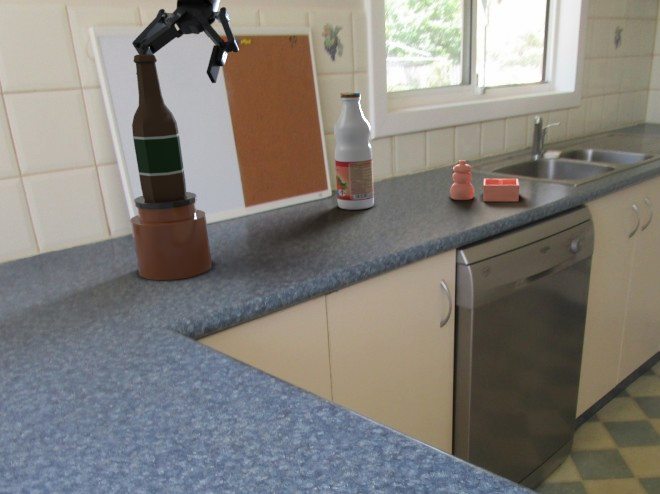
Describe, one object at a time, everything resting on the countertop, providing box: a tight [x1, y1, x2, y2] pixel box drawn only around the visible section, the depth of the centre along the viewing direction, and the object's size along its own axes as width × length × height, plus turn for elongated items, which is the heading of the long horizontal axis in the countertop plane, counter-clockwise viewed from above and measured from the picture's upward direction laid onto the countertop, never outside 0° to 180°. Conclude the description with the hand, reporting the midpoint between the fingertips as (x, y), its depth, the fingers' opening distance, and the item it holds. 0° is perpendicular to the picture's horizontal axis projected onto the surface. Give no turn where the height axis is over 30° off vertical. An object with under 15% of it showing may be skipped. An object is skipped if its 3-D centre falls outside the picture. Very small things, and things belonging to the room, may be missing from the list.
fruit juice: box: [333, 91, 375, 211], centre depth 166 cm, size 9×9×28 cm
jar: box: [129, 191, 213, 281], centre depth 121 cm, size 13×13×14 cm
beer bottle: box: [131, 54, 187, 201], centre depth 115 cm, size 8×8×24 cm
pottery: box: [449, 159, 520, 202], centre depth 176 cm, size 18×10×10 cm, turn 83°
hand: (175, 78), depth 122 cm, fingers open, 13 cm apart
